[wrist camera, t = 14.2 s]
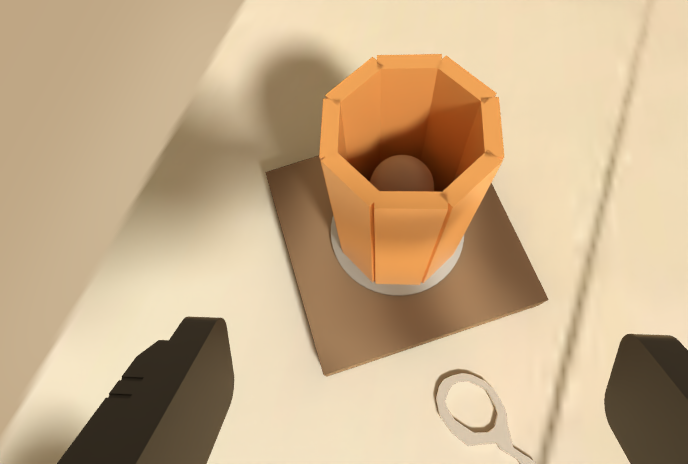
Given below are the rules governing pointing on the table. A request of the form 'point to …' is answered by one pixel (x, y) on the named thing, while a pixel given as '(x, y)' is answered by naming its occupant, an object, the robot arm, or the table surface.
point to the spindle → (395, 299)
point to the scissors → (469, 438)
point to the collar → (413, 140)
